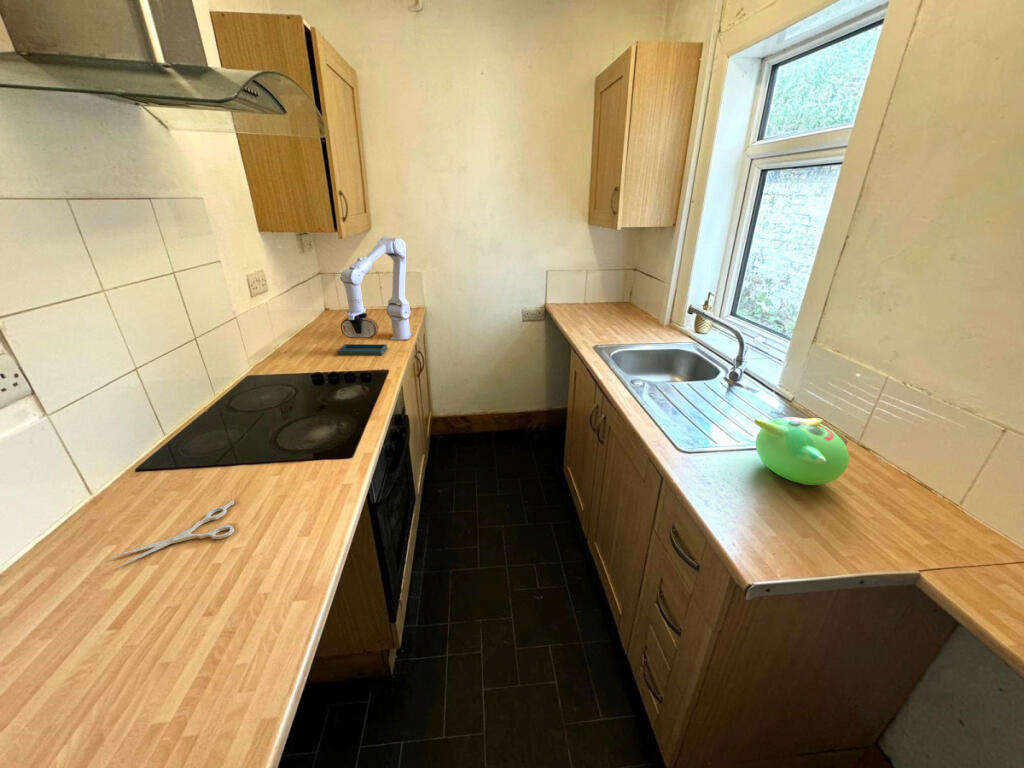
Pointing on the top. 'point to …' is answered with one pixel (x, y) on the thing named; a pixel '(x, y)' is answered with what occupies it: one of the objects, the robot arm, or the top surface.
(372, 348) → the tray
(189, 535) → the scissors
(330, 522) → the top surface
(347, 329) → the tin
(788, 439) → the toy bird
